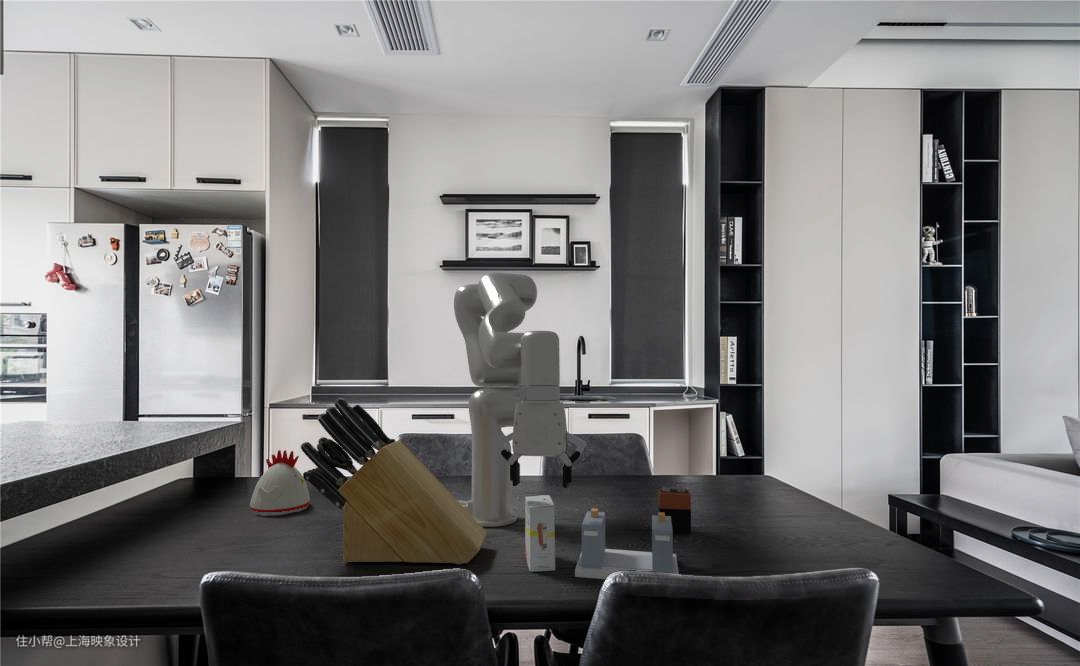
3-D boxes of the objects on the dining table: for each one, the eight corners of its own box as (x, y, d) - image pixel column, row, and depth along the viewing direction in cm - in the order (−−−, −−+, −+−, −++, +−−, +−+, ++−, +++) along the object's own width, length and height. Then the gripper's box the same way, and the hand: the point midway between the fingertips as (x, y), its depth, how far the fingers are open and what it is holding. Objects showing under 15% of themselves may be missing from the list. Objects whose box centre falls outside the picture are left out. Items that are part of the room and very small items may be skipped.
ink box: (524, 555, 106) (524, 494, 107) (548, 554, 107) (549, 494, 107) (528, 572, 98) (529, 506, 98) (555, 571, 98) (555, 505, 99)
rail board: (574, 576, 96) (574, 520, 96) (583, 553, 107) (583, 502, 108) (679, 585, 92) (678, 526, 93) (676, 560, 104) (675, 508, 104)
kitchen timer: (294, 516, 132) (296, 455, 133) (238, 516, 132) (240, 454, 133) (318, 502, 146) (319, 446, 147) (267, 501, 146) (269, 446, 147)
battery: (691, 535, 119) (691, 489, 119) (660, 534, 120) (659, 488, 120) (688, 529, 123) (688, 485, 124) (658, 528, 124) (657, 484, 125)
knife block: (320, 543, 113) (323, 395, 114) (487, 546, 111) (489, 396, 113) (293, 563, 101) (297, 398, 103) (479, 567, 100) (480, 399, 101)
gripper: (491, 395, 102) (491, 488, 100) (582, 396, 98) (583, 491, 97) (502, 394, 109) (502, 480, 108) (587, 394, 106) (588, 483, 104)
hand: (540, 485), depth 102 cm, fingers open, 9 cm apart
